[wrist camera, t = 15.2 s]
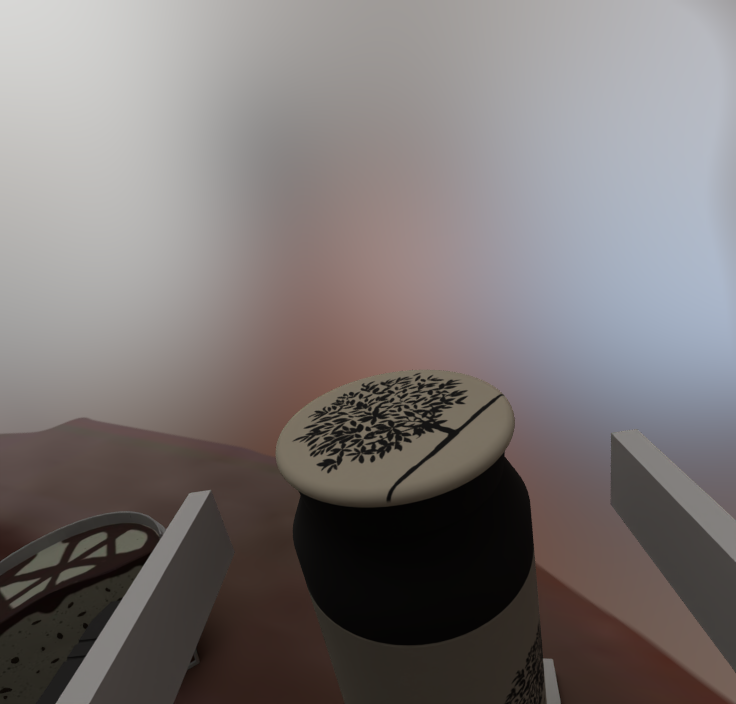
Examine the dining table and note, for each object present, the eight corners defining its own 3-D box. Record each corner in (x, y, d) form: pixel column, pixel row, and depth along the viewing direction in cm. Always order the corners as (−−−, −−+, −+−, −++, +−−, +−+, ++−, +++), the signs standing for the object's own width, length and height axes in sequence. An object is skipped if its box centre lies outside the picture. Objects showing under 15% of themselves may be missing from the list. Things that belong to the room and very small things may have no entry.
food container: (208, 585, 33) (163, 480, 30) (223, 648, 28) (171, 529, 25) (21, 685, 28) (-57, 572, 25) (-3, 785, 23) (-106, 658, 20)
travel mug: (340, 754, 21) (229, 432, 15) (453, 640, 25) (401, 352, 19) (469, 969, 14) (364, 557, 8) (591, 768, 18) (578, 396, 12)
